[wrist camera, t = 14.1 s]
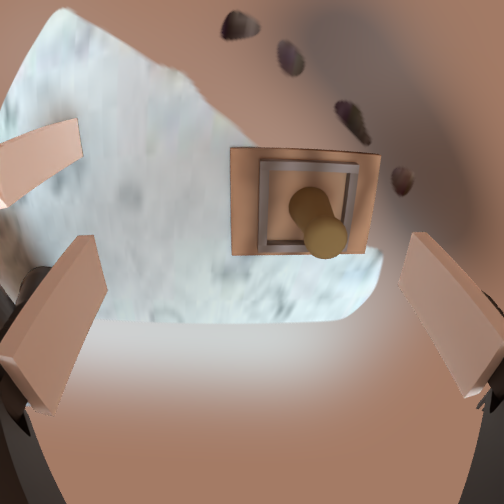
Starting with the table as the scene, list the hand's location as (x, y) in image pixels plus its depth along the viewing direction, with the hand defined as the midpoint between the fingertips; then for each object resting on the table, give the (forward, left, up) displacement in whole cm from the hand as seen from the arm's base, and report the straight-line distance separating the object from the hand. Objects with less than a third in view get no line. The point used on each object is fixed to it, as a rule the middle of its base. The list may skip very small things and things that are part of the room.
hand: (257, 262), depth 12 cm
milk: (-26, +1, -32) cm, 41 cm away
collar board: (+9, -10, -32) cm, 34 cm away
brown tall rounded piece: (+9, -10, -31) cm, 34 cm away
